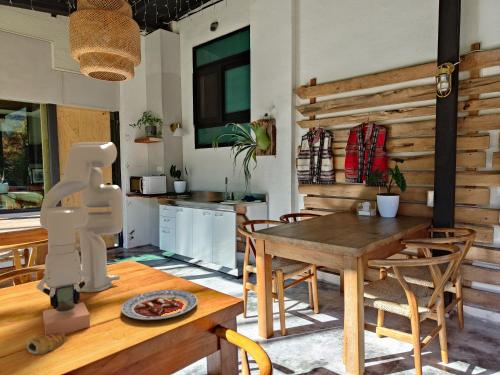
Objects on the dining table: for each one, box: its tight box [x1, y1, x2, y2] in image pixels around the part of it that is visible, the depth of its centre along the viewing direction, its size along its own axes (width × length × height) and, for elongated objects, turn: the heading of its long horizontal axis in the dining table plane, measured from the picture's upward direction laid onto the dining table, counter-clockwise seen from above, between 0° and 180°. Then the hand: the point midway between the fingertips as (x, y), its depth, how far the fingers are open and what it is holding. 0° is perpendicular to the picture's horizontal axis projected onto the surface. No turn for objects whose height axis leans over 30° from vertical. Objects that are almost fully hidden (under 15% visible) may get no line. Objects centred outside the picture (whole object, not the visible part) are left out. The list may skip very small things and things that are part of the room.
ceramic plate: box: [121, 289, 198, 321], centre depth 124 cm, size 26×26×3 cm
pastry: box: [26, 332, 67, 355], centre depth 99 cm, size 9×7×4 cm
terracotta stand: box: [42, 301, 91, 334], centre depth 112 cm, size 12×12×4 cm
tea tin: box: [54, 284, 75, 312], centre depth 112 cm, size 6×6×7 cm
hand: (65, 304), depth 112 cm, fingers closed on tea tin, 5 cm apart
